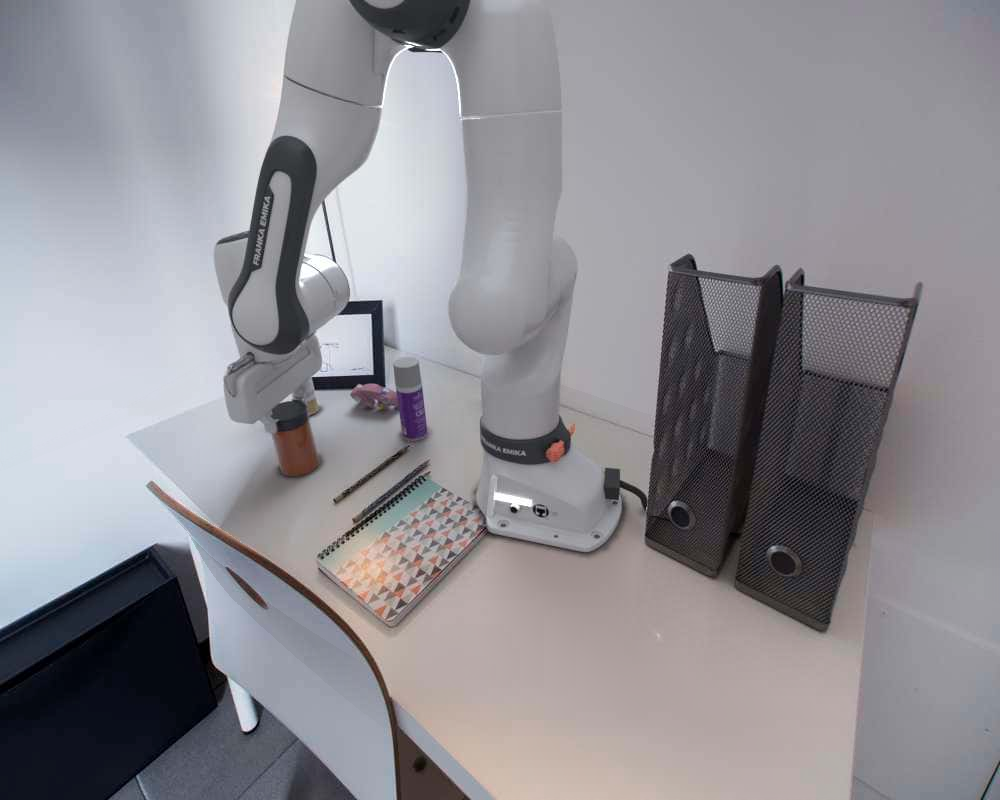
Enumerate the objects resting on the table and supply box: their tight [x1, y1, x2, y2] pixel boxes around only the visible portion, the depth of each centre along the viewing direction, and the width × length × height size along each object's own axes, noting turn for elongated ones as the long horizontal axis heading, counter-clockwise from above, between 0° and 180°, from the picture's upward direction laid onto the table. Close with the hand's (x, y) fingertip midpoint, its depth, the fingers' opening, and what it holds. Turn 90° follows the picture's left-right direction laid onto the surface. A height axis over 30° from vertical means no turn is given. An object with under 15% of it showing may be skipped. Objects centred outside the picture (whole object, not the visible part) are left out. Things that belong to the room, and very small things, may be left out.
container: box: [392, 356, 428, 442], centre depth 96 cm, size 5×5×15 cm
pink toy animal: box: [350, 383, 398, 410], centre depth 108 cm, size 10×5×7 cm
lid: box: [270, 400, 310, 431], centre depth 87 cm, size 6×6×2 cm
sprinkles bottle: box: [291, 376, 320, 417], centre depth 105 cm, size 5×5×14 cm
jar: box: [270, 418, 320, 477], centre depth 89 cm, size 6×6×11 cm
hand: (288, 418), depth 87 cm, fingers closed on lid, 6 cm apart
